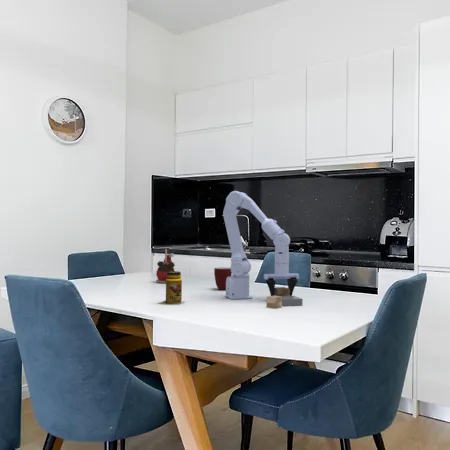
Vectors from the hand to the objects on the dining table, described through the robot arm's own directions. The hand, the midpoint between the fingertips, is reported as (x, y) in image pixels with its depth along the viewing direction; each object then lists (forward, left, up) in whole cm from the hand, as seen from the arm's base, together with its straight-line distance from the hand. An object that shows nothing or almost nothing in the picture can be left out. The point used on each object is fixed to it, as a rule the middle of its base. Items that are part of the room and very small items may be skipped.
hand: (281, 296), depth 189 cm
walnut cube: (0, 0, -2) cm, 2 cm away
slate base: (-1, -9, -1) cm, 9 cm away
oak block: (-9, -14, -2) cm, 17 cm away
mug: (-15, +35, -2) cm, 38 cm away
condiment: (-44, +4, -2) cm, 44 cm away
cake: (-36, +65, -2) cm, 74 cm away
